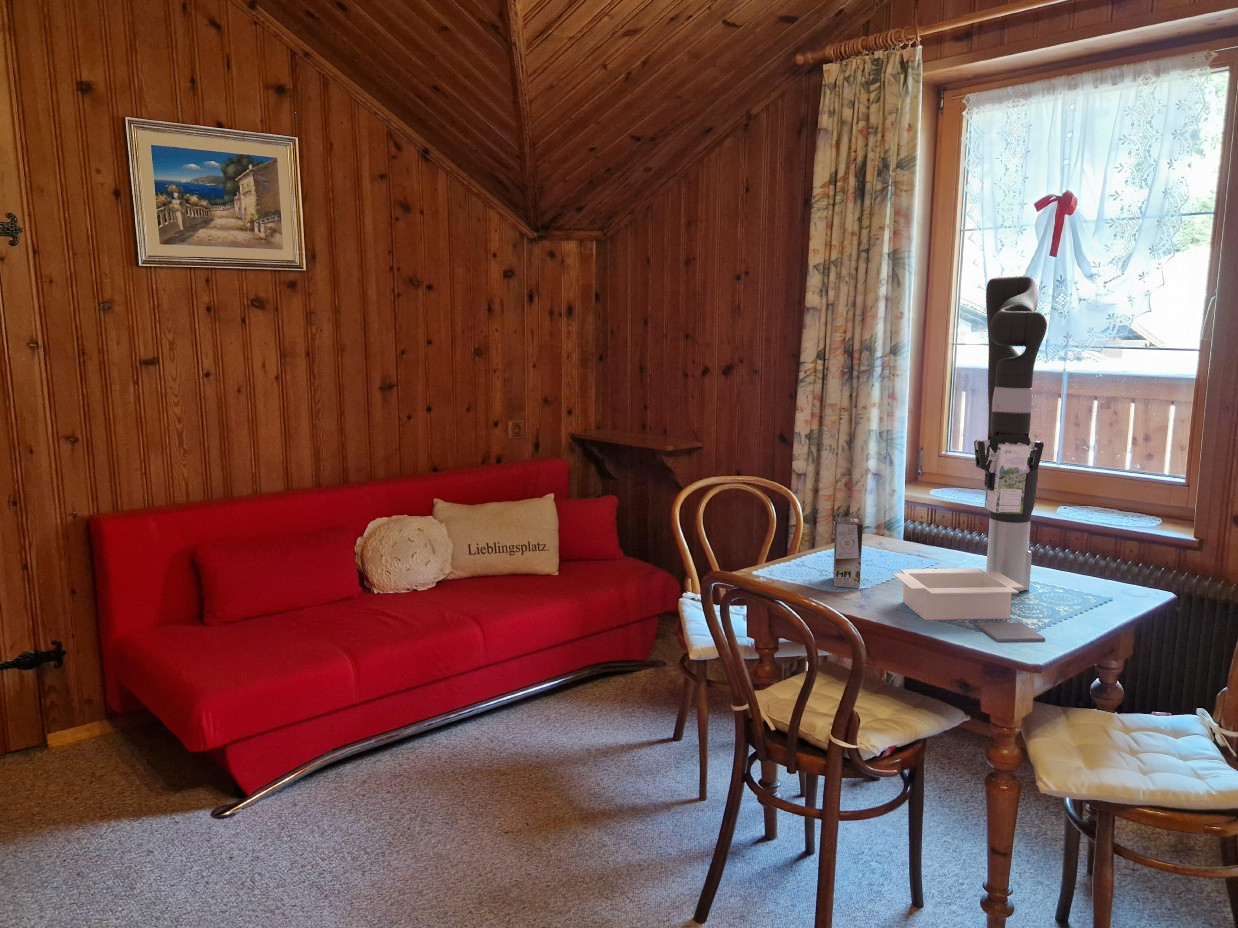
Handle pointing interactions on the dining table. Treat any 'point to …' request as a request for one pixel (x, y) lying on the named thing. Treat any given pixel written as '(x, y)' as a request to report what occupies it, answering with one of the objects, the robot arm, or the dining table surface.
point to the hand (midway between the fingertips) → (1005, 489)
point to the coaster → (1010, 632)
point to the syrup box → (1008, 479)
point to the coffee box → (847, 551)
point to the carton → (957, 593)
